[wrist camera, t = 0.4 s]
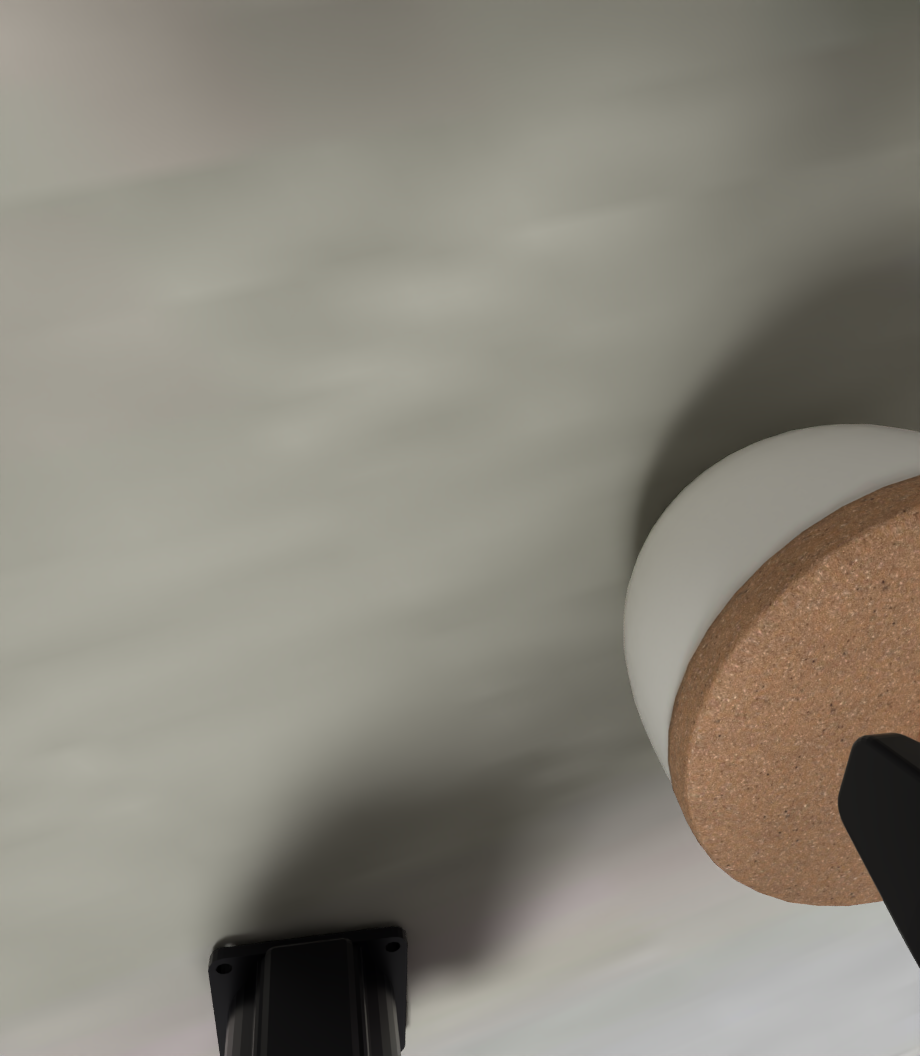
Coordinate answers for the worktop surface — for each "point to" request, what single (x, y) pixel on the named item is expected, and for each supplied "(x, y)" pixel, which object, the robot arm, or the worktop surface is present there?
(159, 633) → the worktop surface
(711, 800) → the lidded jar
